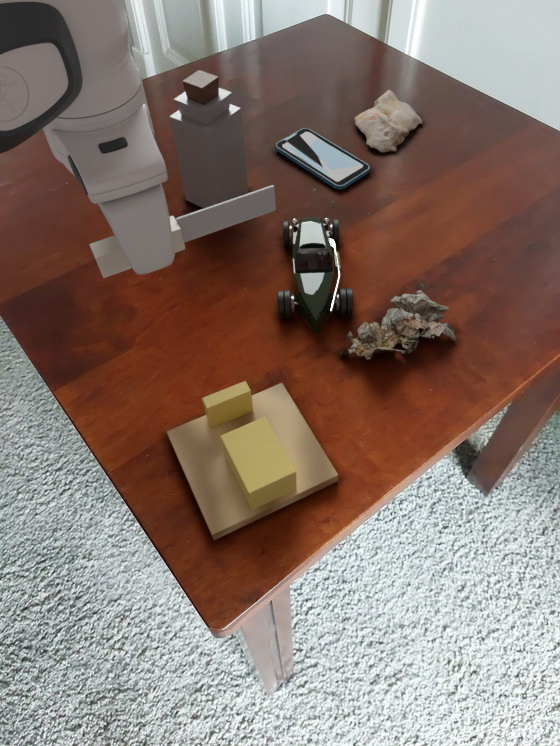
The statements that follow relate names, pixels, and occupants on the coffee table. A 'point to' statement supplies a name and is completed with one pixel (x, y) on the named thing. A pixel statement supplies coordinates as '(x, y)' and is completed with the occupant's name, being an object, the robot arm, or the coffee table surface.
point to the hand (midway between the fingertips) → (136, 245)
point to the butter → (259, 462)
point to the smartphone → (322, 158)
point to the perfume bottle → (209, 142)
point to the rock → (401, 326)
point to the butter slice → (228, 404)
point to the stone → (387, 122)
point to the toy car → (314, 273)
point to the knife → (191, 227)
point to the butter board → (215, 476)
